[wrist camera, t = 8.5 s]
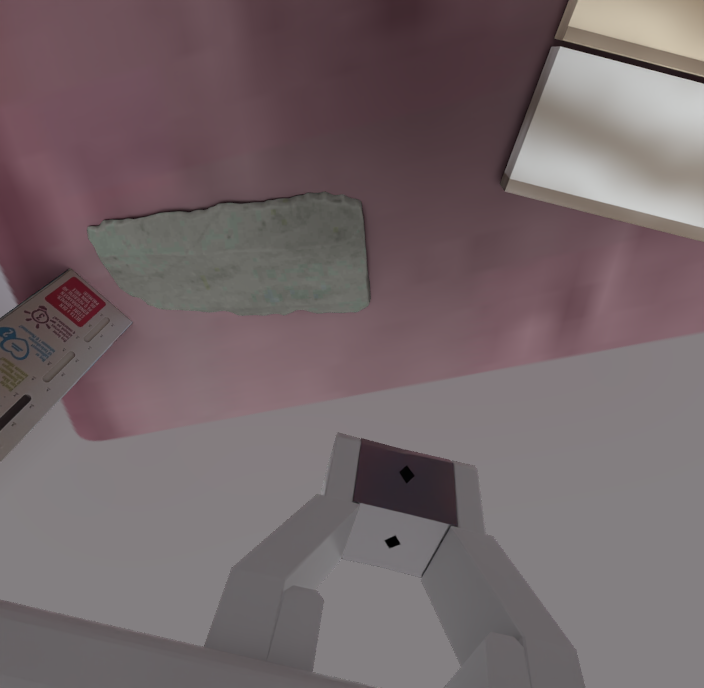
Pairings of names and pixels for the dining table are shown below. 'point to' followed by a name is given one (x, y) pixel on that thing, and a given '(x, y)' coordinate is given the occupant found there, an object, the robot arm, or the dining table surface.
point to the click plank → (613, 143)
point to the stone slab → (243, 256)
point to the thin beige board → (640, 30)
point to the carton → (50, 350)
